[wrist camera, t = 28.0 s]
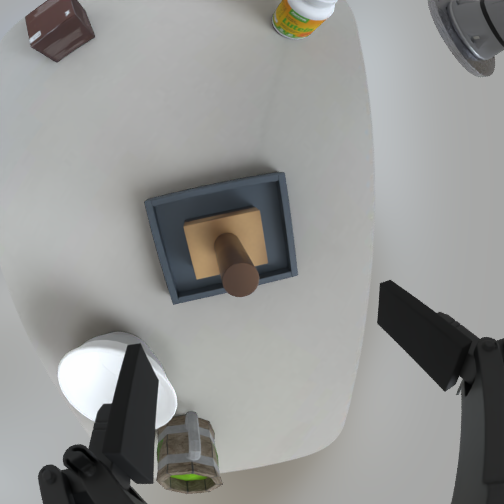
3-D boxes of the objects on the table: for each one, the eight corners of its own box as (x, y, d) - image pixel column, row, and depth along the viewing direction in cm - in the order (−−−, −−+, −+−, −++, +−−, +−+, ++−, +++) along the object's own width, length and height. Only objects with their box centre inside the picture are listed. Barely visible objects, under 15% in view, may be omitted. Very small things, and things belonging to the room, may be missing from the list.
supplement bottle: (268, 35, 26) (295, -2, 17) (273, 4, 24) (298, -34, 15) (309, 45, 27) (346, 15, 18) (312, 15, 26) (345, -18, 17)
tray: (279, 171, 32) (284, 172, 30) (292, 269, 36) (298, 275, 34) (147, 199, 30) (144, 201, 28) (174, 297, 34) (173, 304, 32)
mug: (210, 446, 45) (217, 494, 34) (156, 441, 43) (156, 491, 31) (224, 399, 41) (235, 457, 30) (159, 393, 39) (156, 453, 27)
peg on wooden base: (253, 204, 32) (287, 230, 20) (261, 253, 34) (295, 301, 22) (184, 219, 31) (178, 254, 19) (196, 268, 33) (198, 325, 21)
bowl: (114, 400, 38) (107, 438, 30) (57, 328, 32) (34, 363, 24) (196, 377, 39) (199, 419, 31) (143, 292, 33) (130, 329, 25)
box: (86, 10, 20) (68, -15, 13) (96, 37, 22) (76, 14, 15) (48, 35, 19) (24, 16, 12) (56, 64, 21) (29, 47, 15)
